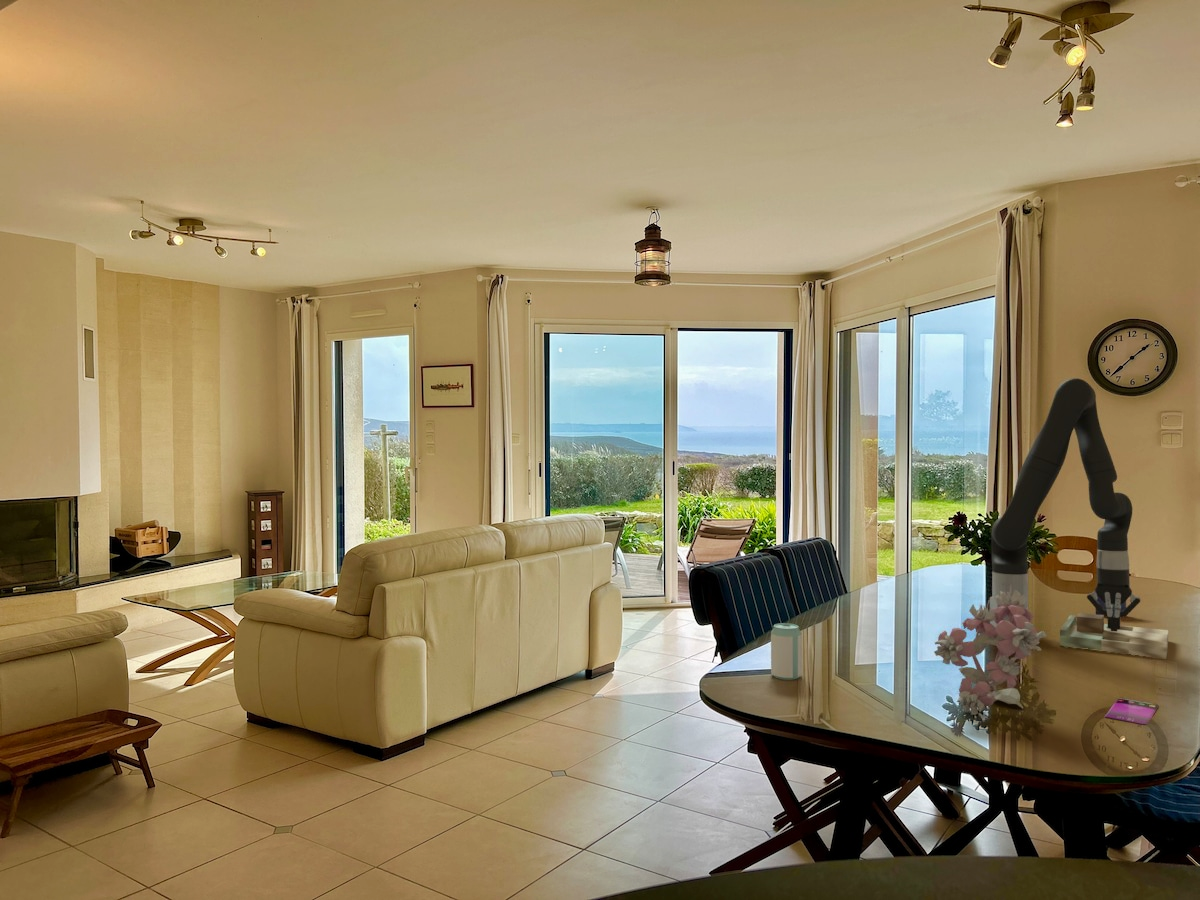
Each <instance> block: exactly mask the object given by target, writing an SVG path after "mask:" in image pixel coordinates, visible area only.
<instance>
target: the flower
mask: <svg viewBox="0 0 1200 900" xmlns="http://www.w3.org/2000/svg"><path fill="white" fill-rule="evenodd" d="M1000 595H1001V597H1000V596H999V595H997V596H996V597H995V599H996V603H998V604H999V605H1000V606H1001V607H998V608H996V609H992V610H991V611H990V609H991V608H990V607H989V605H990V599H987V604H986V606H985V605H982V604H979V608H978V609H977V608H976V607H975V605H974V603H972V605H971V607H970V609H969V611H968V612H969V613H970V615H972V617H974V618H970V617H968V618H965V620H964V621H962V623H961V624H962V627H963V629H962V628H959V627H954V628H952V629H951V631H950V633H949V635H948V632H947V631H946V630H944V631H942V632H941V633H939V635H938V638H937V641H935V642H934V645H937V646H936V650H935V651H933V652H934V655H935V656H936V657H937V656H940V657H941V658H942V664H945V665H950V663H952V665H954V666H956V667H959V668H958V670H959V672H960V674H962V676H963V678H961V681H960V686H959V688H958V691H959V693H958V696H959V697H958V699H957V701H956V703H958V704H960V705H959V706H958V707H959V708H960V707H962V710H961V712H962V713H965V712H968V711H969V710H970V711H971V712H970V715H972V716H973V715H977V714H979V713H980V712H981V711H982V710H983V709H984V708H985V707H990V706H993V704H994V702H996V701H1000V702H1002V703H1006V704H1008V705H1017V706H1018V707H1020V708H1021V709H1022V710H1023V709H1024V707H1023V705H1022V704H1021V702H1020V700H1021V694H1020V692H1019V689H1017V688H1015V686H1017V682H1018V677H1017V676H1019V674H1020V669H1021V668H1022V666H1021V665H1020V664H1019V663H1020V661H1016V660H1025V659H1026V658H1028V657H1032V650H1033V651H1038V652H1040V651H1042V648H1041V647H1040V646H1039V644H1040V640H1041V639H1042V638H1047V637H1048V636H1047V634H1046V632H1045V631H1044V630H1041V631H1040V632H1038V631H1037V630H1036V628H1035V627H1034V626H1035V624H1033V623H1032V621H1033V619H1034V616H1033V614H1032V612H1031V610H1029V609H1028V610H1026V609H1024V608H1023V607H1020V606H1022V605H1024V604H1025V601H1026V599H1025V596H1024V594H1023V595H1022V596H1021V597H1020V595H1021V594H1020V593H1019V592H1018V591H1016V590H1014V591H1013V595H1012V596H1011V585H1010V594H1009V592H1007V594H1006V592H1005V593H1003V592H1002V591H1000ZM1006 615H1007V616H1008V619H1009V620H1010V622H1009V621H1006V620H1004V619H1005V617H1006ZM1023 616H1025V617H1026V618H1025V617H1023ZM990 621H995V622H996V623H997V624H998V625H997V626H996V628H995V627H994V626H993V625H992V624H990ZM1016 626H1017V627H1016ZM974 629H975V633H976V634H975V638H974V639H973V640H972V641H964V640H965V639H966V638H967V631H966V630H969V631H971V632H972V631H973V630H974ZM990 645H992V646H996V647H997V652H996V655H995V659H994V661H990V662H989V663H986V665H985V671H990V672H989V674H988V675H986V674H985V673H984V670H983V668H982V665H981V664H980V662H979V660H978V658H977V656H979V655H980V654H982V653H983V652H984V650H986V649H987V648H988V646H990ZM1013 654H1014V656H1013V657H1011V656H1012V655H1013ZM962 657H966V658H972V659H973V662H974V666H975V667H970V666H967V665H969V662H968V661H966V660H965V659H964V658H962ZM1009 657H1010V659H1009ZM1015 661H1016V662H1015ZM1005 682H1006V686H1007V687H1006V688H1004V689H1002V688H1001V689H998V690H997V686H999V685H1001V684H1003V683H1005ZM973 684H974V687H973V686H972V685H973ZM978 711H979V712H978Z"/></svg>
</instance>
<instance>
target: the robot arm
mask: <svg viewBox="0 0 1200 900" xmlns="http://www.w3.org/2000/svg"><path fill="white" fill-rule="evenodd" d="M1096 396H1097V395H1096V392H1095V389H1094V388H1093V387H1092V386H1091V385H1090V384H1089V383H1088V382H1087V381H1086V380H1084V379H1081V378H1070V379H1066V380H1065V381H1063V382H1062V383H1060V385H1059V386H1058V387H1057V389H1056V390H1055V394H1054V396H1053V399H1052V402H1051V405H1050V408H1049V412H1048V414H1047V417H1046V420H1045V421H1044V424H1043V425H1042V427H1041V429H1040V430H1039V432H1038V434H1037V436H1036V437H1035V439H1034V442H1033V443H1032V446H1031V448H1030V449H1029V451H1028V453H1027V455H1026V457H1025V459H1024V462H1023V464H1022V466H1021V468H1020V471H1019V475H1018V476H1017V477H1018V478H1017V481H1016V485H1015V488H1014V492H1013V494H1012V497H1011V501H1010V502H1009V504H1008V505H1007V508H1006V509H1005V511H1004V513H1003V514H1002V516H1001V517H999V518H997V519H996V520H995V521H994V523H993V525H992V526H991V534H990V535H991V564H992V565H991V569H992V571H991V573H992V576H991V577H992V578H991V579H992V584H991V585H992V586H991V590H992V592H991V593H992V594H991V595H992V596H990V597H989V600H990V602H989V610H990V611H991V610H992V609H996V608H998V607H1001V606H1000V605H999V604H998V603H996V599H995V597H996V596H997V595H999V596H1000V597H1001V595H1000V591H1002V592H1003V593H1005V592H1006V594H1007V592H1009V594H1010V585H1011V596H1012V595H1013V591H1014V590H1016V591H1018V592H1019V593H1020V594H1021V595H1020V597H1021V596H1022V595H1023V594H1024V596H1025V599H1026V601H1025V604H1024V605H1022V606H1020V607H1023V608H1024V609H1026V610H1028V611H1029V563H1028V555H1027V554H1028V552H1027V551H1028V549H1027V548H1028V547H1027V546H1028V545H1027V544H1028V543H1027V542H1028V540H1029V537H1030V533H1031V530H1032V527H1033V525H1034V522H1035V519H1036V516H1037V514H1038V512H1039V509H1040V508H1041V506H1042V504H1043V502H1044V501H1045V499H1046V498H1047V495H1049V492H1050V491H1051V490H1052V487H1053V485H1054V483H1055V481H1056V480H1057V478H1058V476H1059V473H1060V472H1061V469H1062V468H1063V465H1064V463H1065V460H1066V457H1067V454H1068V450H1069V445H1070V442H1071V437H1072V433H1073V431H1074V432H1075V435H1076V438H1077V444H1078V448H1079V449H1078V450H1079V453H1080V459H1081V462H1082V465H1083V466H1082V467H1083V469H1084V472H1085V475H1086V479H1087V481H1088V498H1089V499H1088V500H1089V505H1090V508H1091V510H1092V512H1093V513H1094V515H1096V517H1097V518H1099V519H1102V520H1104V523H1103V526H1102V527H1100V529H1098V531H1097V534H1096V535H1097V536H1096V538H1097V539H1096V540H1097V542H1096V543H1097V545H1096V547H1097V554H1096V562H1095V563H1096V587H1095V588H1094V591H1093V592H1090V593H1088V594H1087V596H1086V598H1087V601H1089V603H1091V604H1092V606H1093V607H1094V608H1095V610H1096V609H1097V610H1098V611H1099V612H1100V614H1104V615H1106V616H1107V624H1108V628H1109V629H1111V631H1117V629H1120V625H1121V618H1123V617H1122V616H1124V617H1125V616H1126V617H1127V616H1129V614H1130V613H1131V612H1132V611H1133V610H1134V609H1135V608H1136V607H1137V605H1139V604H1140V603H1141V599H1142V598H1140V597H1139V596H1136V595H1135V594H1133V591H1132V588H1131V587H1130V557H1129V551H1128V550H1129V543H1128V533H1129V530H1130V526H1131V522H1132V517H1133V504H1132V501H1131V499H1130V498H1129V496H1128V495H1126V494H1124V493H1122V492H1115V489H1114V483H1115V482H1116V481H1117V479H1118V474H1117V471H1116V467H1115V464H1114V461H1113V459H1112V455H1111V453H1110V451H1109V450H1110V449H1109V448H1108V445H1107V443H1106V440H1105V437H1104V434H1103V432H1102V428H1101V424H1100V421H1099V415H1098V407H1097V397H1096ZM1097 595H1098V596H1099V597H1100V598H1101V600H1102V601H1103V602H1104V603H1106V609H1107V610H1106V609H1104V608H1103V607H1102V605H1101V604H1100V603H1099V602H1098V601H1097V599H1098V597H1097ZM1129 598H1130V599H1129ZM1128 599H1129V605H1126V609H1125V610H1124V611H1121V604H1123V603H1124V602H1125V601H1126V602H1127V600H1128ZM1112 604H1115V614H1114V616H1113V609H1112ZM990 608H991V609H990ZM1023 617H1025V616H1023ZM1025 618H1026V617H1025ZM1004 620H1006V621H1009V622H1010V620H1009V619H1008V616H1007V615H1006V617H1005V619H1004ZM989 623H990V624H992V625H993V626H994V627H995V628H996V626H997V625H998V624H997V623H996V622H995V621H990V622H989ZM1016 627H1017V626H1016Z"/></svg>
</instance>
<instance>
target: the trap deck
mask: <svg viewBox="0 0 1200 900" xmlns="http://www.w3.org/2000/svg"><path fill="white" fill-rule="evenodd" d="M1060 645H1062V646H1069V647H1076V648H1088V649H1097V650H1103V651H1109V652H1108V653H1110V652H1115V653H1114V654H1118V653H1123V654H1122V655H1126V654H1131V655H1130V656H1135V655H1139V656H1138V657H1143V656H1146V657H1145V658H1151V657H1155V658H1154V659H1160V658H1162V660H1167V658H1168V657H1167V655H1168V646H1169V630H1168V629H1159V628H1150V627H1140V626H1129V625H1121V624H1120V629H1117V631H1111V629H1109V628H1108V623H1104V631H1103V633H1102V634H1099V633H1089V632H1080V631H1077V615H1074V614H1073V615H1072V614H1070V615H1069V616H1068V618H1067V619H1066V621H1065V622H1064V623H1063V625H1062V626H1061V628H1060V629H1059V646H1060ZM1076 648H1075V649H1076Z"/></svg>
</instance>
